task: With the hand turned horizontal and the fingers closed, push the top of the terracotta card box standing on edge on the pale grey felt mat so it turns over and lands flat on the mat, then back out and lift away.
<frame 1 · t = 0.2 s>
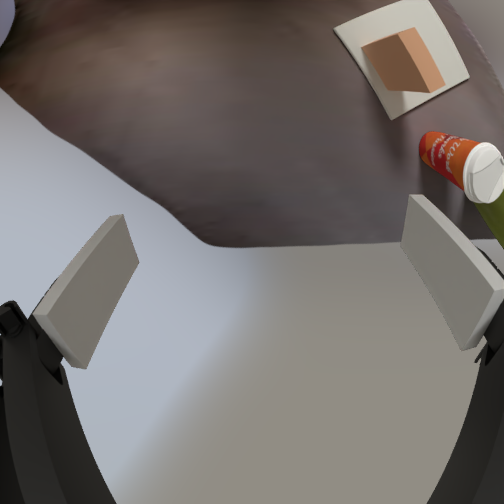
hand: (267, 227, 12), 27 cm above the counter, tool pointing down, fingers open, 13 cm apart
card box: (381, 65, 29), point 1 cm above the counter, touching mat
flower pot: (478, 180, 37), on the counter
paper cup: (432, 148, 35), on the counter
mat: (409, 51, 27), on the counter
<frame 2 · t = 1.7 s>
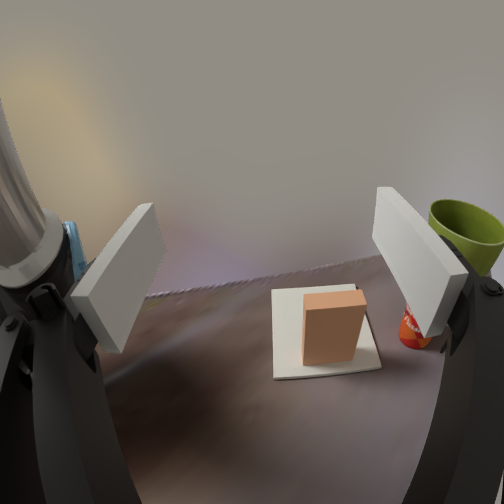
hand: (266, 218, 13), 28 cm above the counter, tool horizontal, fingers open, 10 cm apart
card box: (326, 355, 37), point 1 cm above the counter, touching mat
flower pot: (445, 296, 44), on the counter
paper cup: (414, 336, 38), on the counter
mat: (320, 327, 42), on the counter
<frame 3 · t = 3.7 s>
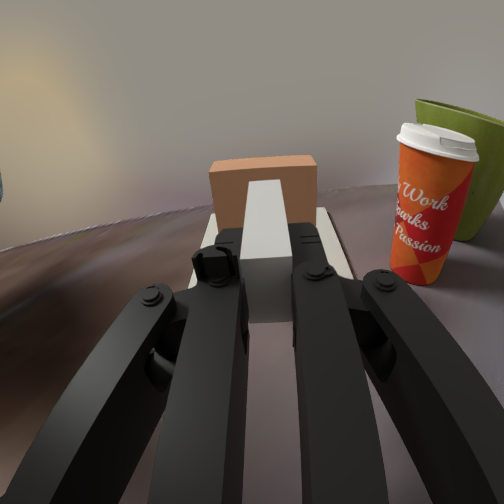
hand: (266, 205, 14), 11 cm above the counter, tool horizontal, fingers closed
card box: (270, 286, 25), point 1 cm above the counter, touching mat
flower pot: (452, 228, 32), on the counter
paper cup: (414, 270, 26), on the counter
mat: (269, 252, 30), on the counter
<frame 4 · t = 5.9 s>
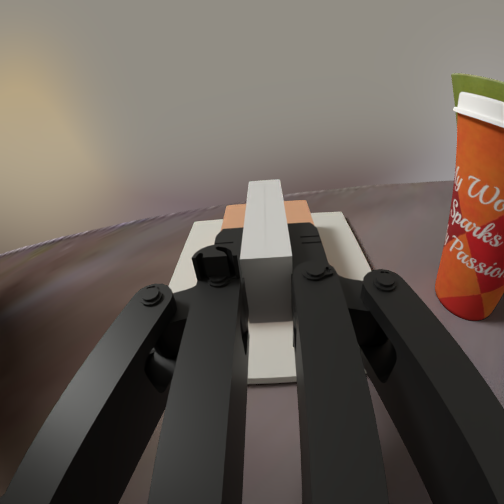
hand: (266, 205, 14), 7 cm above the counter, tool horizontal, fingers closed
card box: (270, 300, 17), point 2 cm above the counter, tilted 90°, touching mat
flower pot: (493, 237, 23), on the counter
paper cup: (465, 297, 17), on the counter
mat: (270, 277, 21), on the counter
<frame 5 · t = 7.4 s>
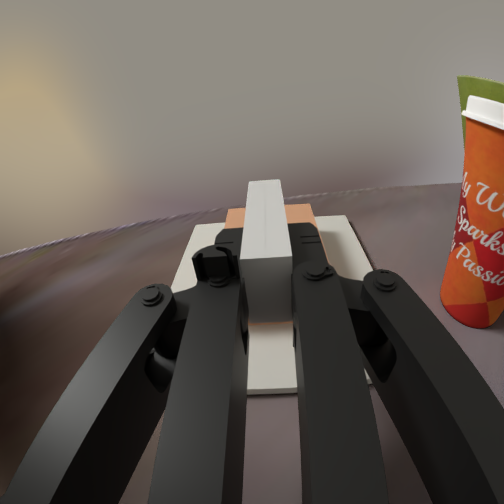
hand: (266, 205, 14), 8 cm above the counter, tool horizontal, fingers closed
card box: (273, 309, 16), point 2 cm above the counter, tilted 90°, touching mat
flower pot: (498, 241, 22), on the counter
paper cup: (470, 304, 16), on the counter
mat: (273, 283, 21), on the counter
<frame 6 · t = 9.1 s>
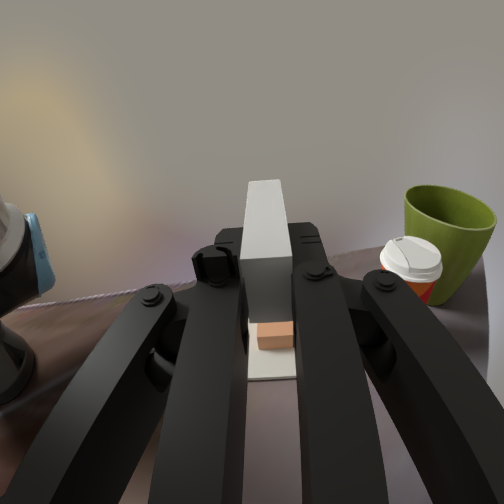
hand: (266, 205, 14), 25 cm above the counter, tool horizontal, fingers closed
card box: (285, 341, 35), point 2 cm above the counter, tilted 90°, touching mat
flower pot: (429, 292, 41), on the counter
paper cup: (390, 337, 35), on the counter
mat: (284, 326, 40), on the counter
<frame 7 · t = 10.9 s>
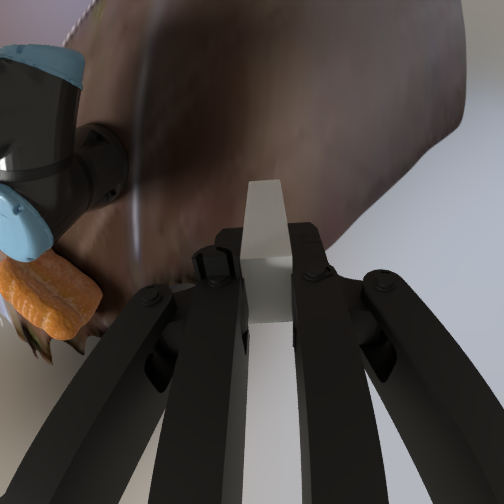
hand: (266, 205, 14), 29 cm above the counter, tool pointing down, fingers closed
bread: (59, 269, 56), on the counter
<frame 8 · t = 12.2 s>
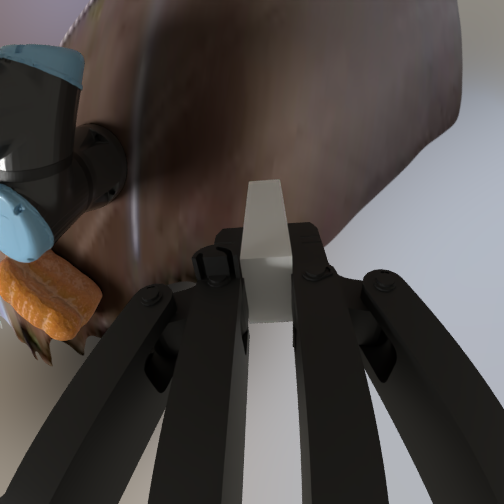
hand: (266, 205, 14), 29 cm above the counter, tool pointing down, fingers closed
bread: (58, 270, 56), on the counter
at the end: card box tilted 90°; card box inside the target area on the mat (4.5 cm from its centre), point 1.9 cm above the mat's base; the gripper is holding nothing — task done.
